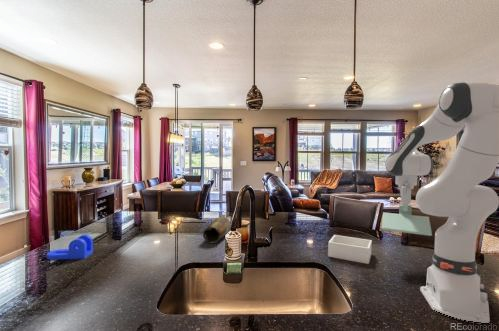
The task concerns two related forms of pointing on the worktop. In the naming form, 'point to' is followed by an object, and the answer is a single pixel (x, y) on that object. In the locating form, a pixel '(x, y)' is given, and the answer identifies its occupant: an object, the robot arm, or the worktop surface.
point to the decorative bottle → (217, 229)
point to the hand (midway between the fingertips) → (405, 210)
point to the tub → (350, 248)
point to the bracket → (74, 249)
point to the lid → (406, 222)
